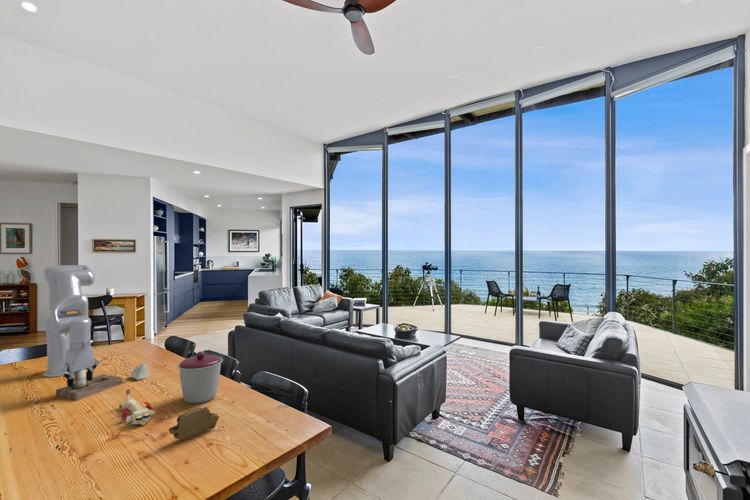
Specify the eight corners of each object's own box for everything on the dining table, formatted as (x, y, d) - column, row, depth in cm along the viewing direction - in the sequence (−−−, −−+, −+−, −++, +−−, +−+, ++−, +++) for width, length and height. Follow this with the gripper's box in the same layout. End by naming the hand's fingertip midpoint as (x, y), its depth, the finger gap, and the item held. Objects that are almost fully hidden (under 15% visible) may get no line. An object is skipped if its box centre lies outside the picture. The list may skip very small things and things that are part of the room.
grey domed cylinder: (72, 394, 157) (71, 368, 157) (82, 390, 161) (81, 365, 161) (78, 395, 156) (78, 369, 156) (88, 392, 160) (88, 366, 159)
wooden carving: (214, 424, 130) (214, 398, 130) (220, 428, 127) (220, 402, 127) (166, 443, 117) (166, 414, 117) (171, 448, 114) (171, 419, 114)
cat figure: (113, 413, 142) (128, 430, 125) (112, 392, 142) (127, 405, 125) (141, 405, 149) (159, 420, 132) (140, 385, 149) (158, 397, 133)
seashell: (152, 368, 185) (153, 364, 179) (144, 384, 179) (145, 381, 174) (135, 364, 181) (136, 360, 176) (127, 381, 176) (127, 377, 171)
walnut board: (56, 396, 155) (56, 389, 155) (102, 380, 174) (102, 374, 174) (77, 400, 151) (77, 393, 151) (122, 383, 170) (122, 377, 170)
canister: (204, 409, 142) (204, 359, 142) (167, 405, 146) (167, 356, 146) (230, 391, 160) (230, 347, 160) (197, 388, 163) (197, 345, 163)
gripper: (94, 340, 168) (94, 375, 168) (52, 350, 151) (52, 389, 151) (105, 341, 165) (105, 377, 165) (63, 351, 149) (63, 392, 149)
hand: (80, 383), depth 158 cm, fingers open, 7 cm apart
